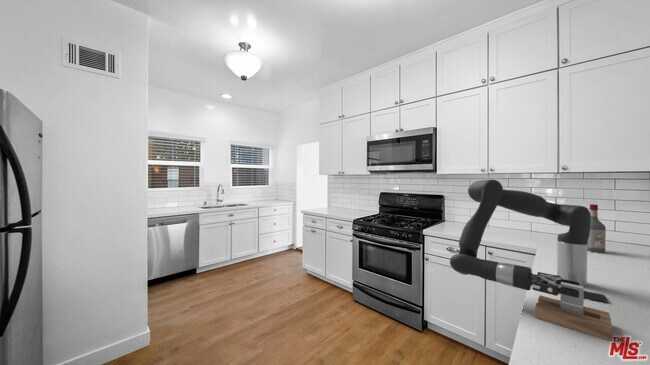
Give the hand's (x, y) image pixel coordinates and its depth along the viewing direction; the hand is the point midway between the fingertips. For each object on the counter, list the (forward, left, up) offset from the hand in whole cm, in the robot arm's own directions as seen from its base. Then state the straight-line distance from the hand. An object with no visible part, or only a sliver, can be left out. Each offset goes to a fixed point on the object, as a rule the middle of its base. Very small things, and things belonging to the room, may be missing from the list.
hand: (579, 289), depth 77 cm
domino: (0, -2, -10) cm, 10 cm away
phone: (-29, -1, -11) cm, 31 cm away
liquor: (-130, +5, -10) cm, 131 cm away
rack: (0, -2, -10) cm, 10 cm away
